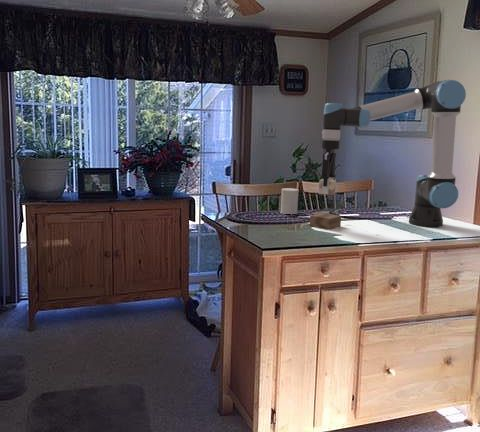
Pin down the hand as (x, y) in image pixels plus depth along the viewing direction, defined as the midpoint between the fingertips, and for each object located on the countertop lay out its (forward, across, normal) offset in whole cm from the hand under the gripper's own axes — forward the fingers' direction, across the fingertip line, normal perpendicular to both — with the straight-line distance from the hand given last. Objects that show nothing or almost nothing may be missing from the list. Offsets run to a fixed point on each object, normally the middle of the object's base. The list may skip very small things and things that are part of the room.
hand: (327, 192), depth 235 cm
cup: (+15, -18, -23) cm, 33 cm away
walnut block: (+15, 0, 0) cm, 15 cm away
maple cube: (0, 0, 0) cm, 0 cm away
